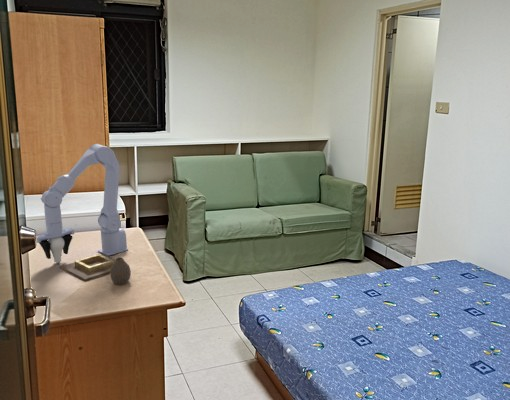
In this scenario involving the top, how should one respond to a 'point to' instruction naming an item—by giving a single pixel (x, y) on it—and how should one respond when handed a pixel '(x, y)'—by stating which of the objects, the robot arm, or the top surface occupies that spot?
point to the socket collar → (106, 261)
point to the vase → (120, 271)
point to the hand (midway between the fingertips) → (57, 255)
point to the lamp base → (83, 274)
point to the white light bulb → (56, 248)
